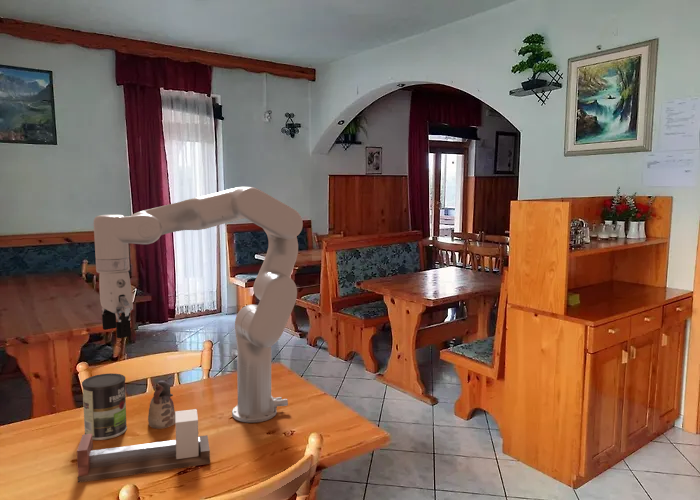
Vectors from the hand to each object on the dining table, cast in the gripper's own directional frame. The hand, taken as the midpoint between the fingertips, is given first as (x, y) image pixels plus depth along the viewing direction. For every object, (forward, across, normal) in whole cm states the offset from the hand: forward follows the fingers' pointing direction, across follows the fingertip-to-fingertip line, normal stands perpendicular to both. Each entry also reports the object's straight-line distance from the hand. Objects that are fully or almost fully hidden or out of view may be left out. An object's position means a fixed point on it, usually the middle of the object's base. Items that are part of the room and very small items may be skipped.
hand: (116, 332), depth 132 cm
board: (+28, -16, 0) cm, 32 cm away
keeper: (+27, -19, -8) cm, 34 cm away
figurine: (+28, +2, -12) cm, 31 cm away
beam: (+27, -16, 0) cm, 31 cm away
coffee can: (+28, +7, +2) cm, 29 cm away
